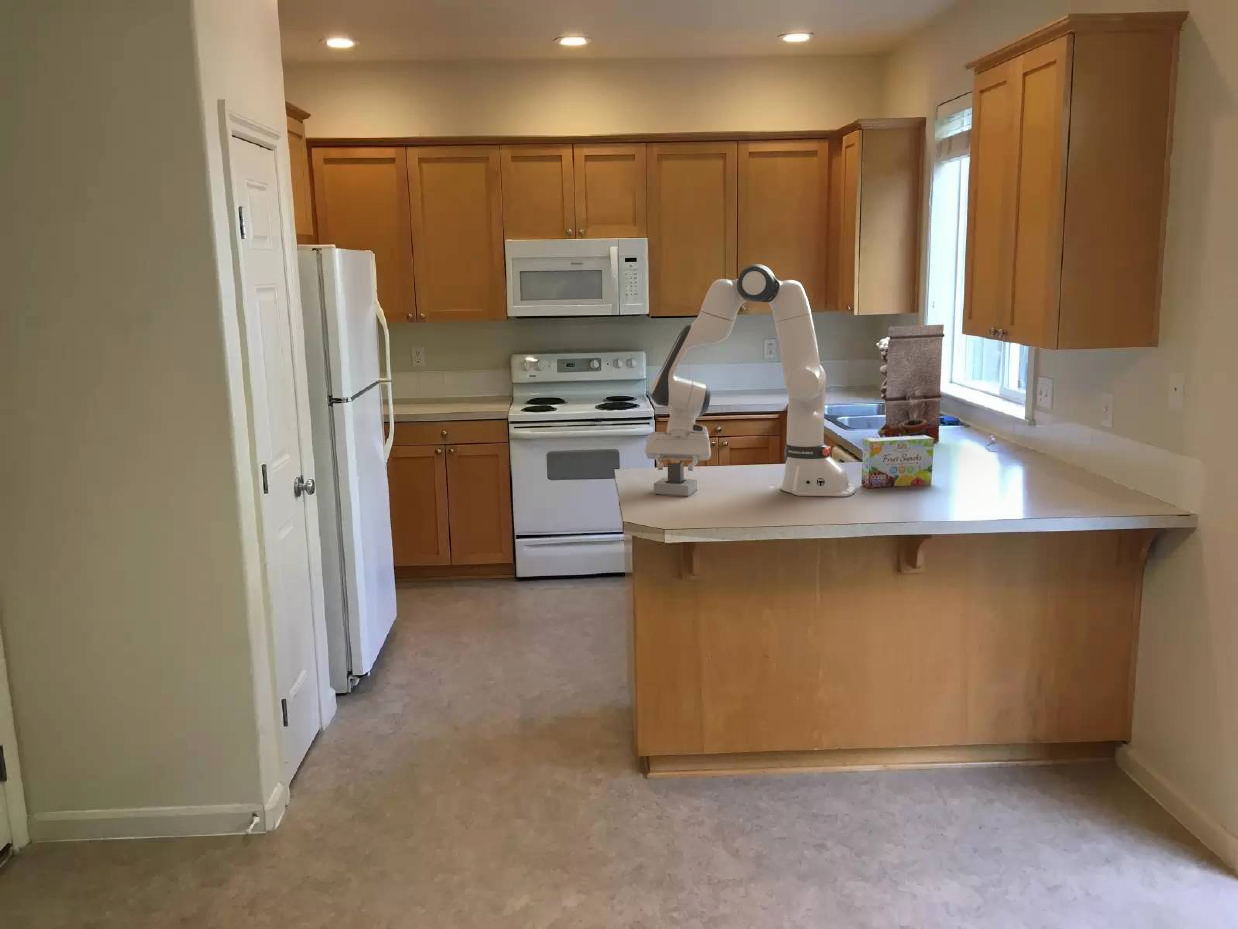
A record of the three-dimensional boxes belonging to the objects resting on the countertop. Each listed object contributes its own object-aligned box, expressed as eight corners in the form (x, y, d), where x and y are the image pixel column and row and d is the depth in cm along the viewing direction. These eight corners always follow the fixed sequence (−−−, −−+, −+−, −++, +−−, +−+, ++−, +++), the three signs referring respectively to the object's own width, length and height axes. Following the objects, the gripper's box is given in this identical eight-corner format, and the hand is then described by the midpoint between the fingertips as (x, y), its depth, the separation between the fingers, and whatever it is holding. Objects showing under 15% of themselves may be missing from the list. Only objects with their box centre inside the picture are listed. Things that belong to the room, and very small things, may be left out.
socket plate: (697, 490, 292) (697, 479, 291) (688, 497, 284) (688, 485, 283) (663, 488, 296) (663, 477, 296) (653, 494, 288) (653, 483, 287)
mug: (896, 469, 317) (898, 425, 314) (873, 463, 327) (874, 420, 324) (936, 463, 325) (938, 420, 322) (911, 457, 335) (913, 416, 332)
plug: (683, 489, 291) (683, 459, 289) (680, 492, 287) (680, 461, 286) (671, 489, 292) (670, 458, 291) (667, 492, 289) (667, 461, 287)
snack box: (868, 489, 289) (870, 440, 286) (860, 485, 294) (862, 437, 291) (932, 484, 293) (934, 437, 290) (923, 481, 298) (925, 434, 295)
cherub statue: (912, 435, 379) (917, 322, 371) (939, 442, 362) (945, 324, 353) (861, 439, 374) (864, 324, 365) (886, 447, 356) (890, 326, 347)
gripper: (646, 426, 295) (640, 462, 288) (711, 427, 290) (706, 464, 283) (649, 437, 300) (643, 474, 293) (713, 439, 295) (709, 476, 288)
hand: (675, 469), depth 288 cm, fingers open, 8 cm apart
